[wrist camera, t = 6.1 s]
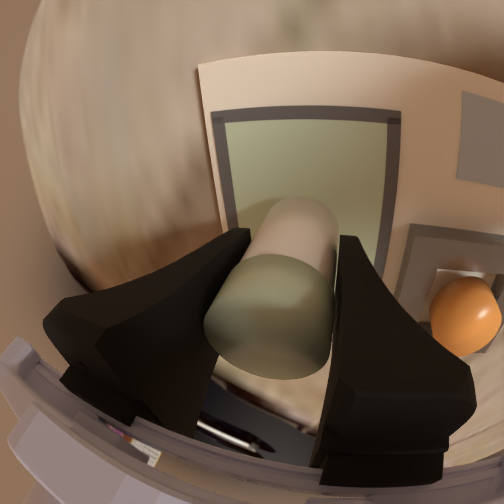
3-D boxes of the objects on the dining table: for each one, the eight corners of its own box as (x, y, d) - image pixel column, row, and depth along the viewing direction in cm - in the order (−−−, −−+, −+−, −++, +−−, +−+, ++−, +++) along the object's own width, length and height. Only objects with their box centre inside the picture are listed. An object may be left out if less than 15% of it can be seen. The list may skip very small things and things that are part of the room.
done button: (500, 278, 10) (513, 304, 8) (474, 330, 12) (481, 356, 11) (441, 273, 11) (450, 301, 10) (419, 329, 13) (423, 356, 12)
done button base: (529, 239, 9) (538, 251, 8) (481, 339, 13) (484, 352, 12) (410, 223, 11) (414, 236, 11) (380, 336, 16) (380, 351, 15)
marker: (343, 196, 10) (337, 306, 6) (338, 267, 12) (323, 386, 7) (258, 192, 11) (190, 288, 7) (265, 260, 13) (216, 367, 8)
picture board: (553, 107, 5) (558, 108, 5) (482, 339, 14) (483, 345, 13) (201, 65, 11) (196, 64, 10) (241, 320, 19) (239, 325, 19)
